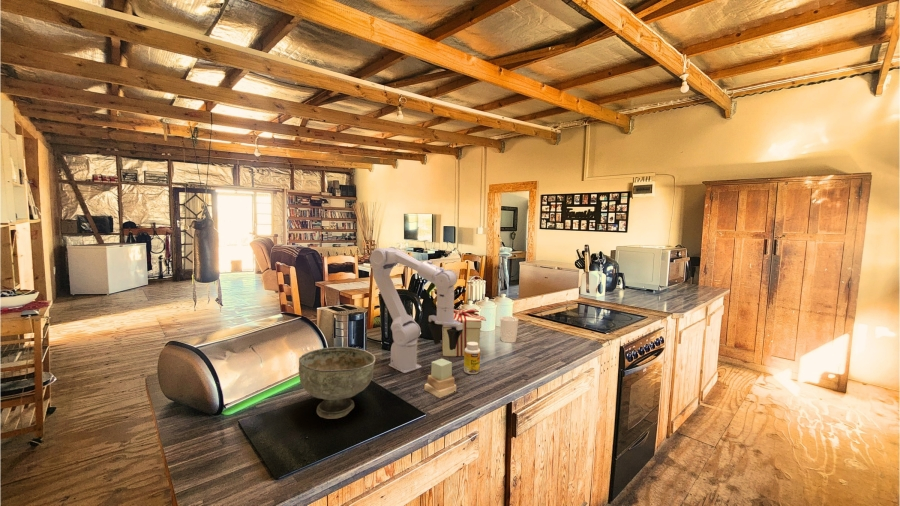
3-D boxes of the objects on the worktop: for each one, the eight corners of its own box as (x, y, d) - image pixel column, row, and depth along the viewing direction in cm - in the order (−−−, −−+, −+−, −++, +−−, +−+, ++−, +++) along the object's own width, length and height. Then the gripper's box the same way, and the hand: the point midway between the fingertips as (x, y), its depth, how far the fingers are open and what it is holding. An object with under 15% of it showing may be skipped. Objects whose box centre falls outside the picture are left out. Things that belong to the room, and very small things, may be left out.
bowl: (386, 410, 102) (387, 358, 101) (318, 437, 89) (318, 377, 88) (351, 386, 117) (351, 339, 115) (288, 406, 103) (287, 354, 102)
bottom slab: (424, 391, 115) (424, 384, 115) (440, 385, 120) (441, 377, 120) (439, 399, 110) (439, 391, 110) (456, 392, 115) (456, 385, 115)
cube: (431, 376, 115) (431, 362, 115) (441, 371, 119) (441, 358, 118) (441, 380, 112) (441, 366, 112) (451, 376, 115) (451, 362, 115)
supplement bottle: (470, 376, 126) (470, 347, 126) (460, 370, 131) (461, 342, 130) (482, 372, 130) (483, 344, 129) (473, 367, 134) (474, 339, 133)
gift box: (443, 360, 140) (444, 316, 138) (439, 344, 158) (439, 304, 156) (487, 359, 142) (489, 315, 140) (478, 343, 160) (479, 304, 159)
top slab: (427, 383, 116) (427, 375, 116) (443, 378, 119) (443, 371, 119) (438, 390, 111) (438, 382, 111) (454, 385, 114) (454, 378, 114)
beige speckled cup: (520, 339, 167) (521, 318, 166) (513, 344, 160) (514, 322, 159) (503, 336, 171) (504, 315, 170) (496, 341, 164) (497, 319, 163)
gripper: (422, 304, 126) (421, 343, 127) (452, 312, 116) (451, 354, 117) (437, 301, 131) (436, 339, 132) (467, 309, 121) (466, 349, 122)
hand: (444, 346), depth 125 cm, fingers open, 7 cm apart
